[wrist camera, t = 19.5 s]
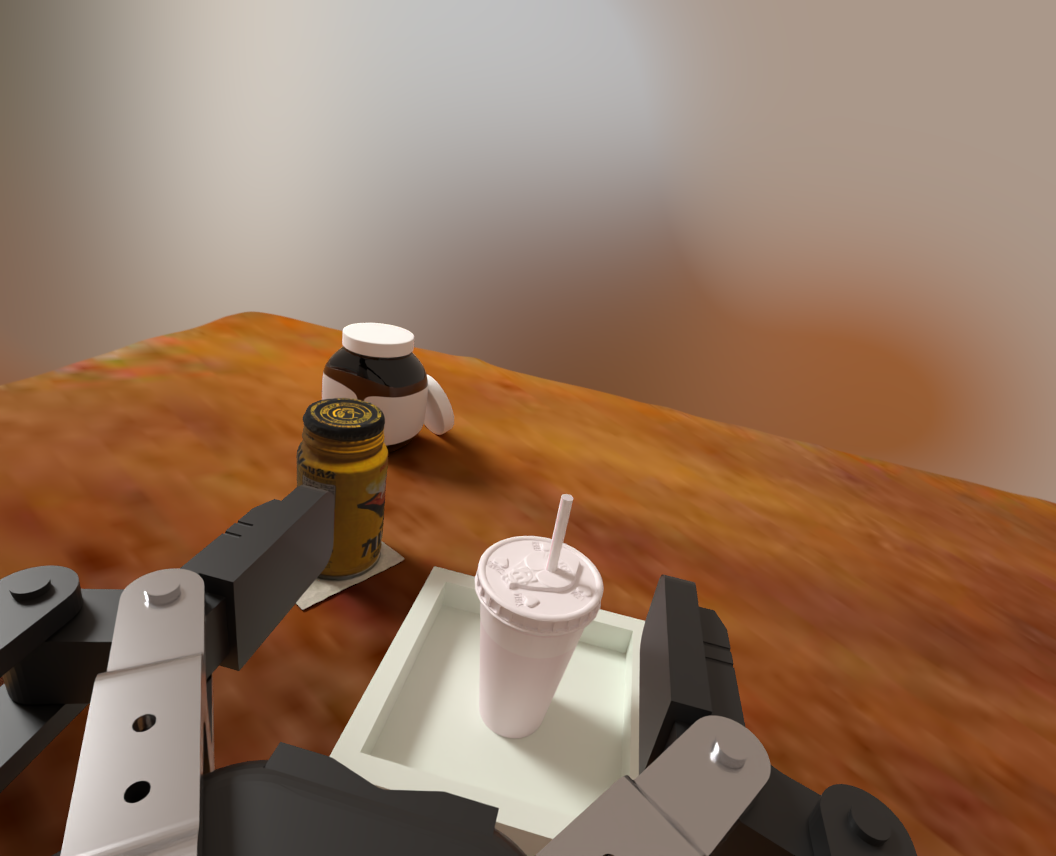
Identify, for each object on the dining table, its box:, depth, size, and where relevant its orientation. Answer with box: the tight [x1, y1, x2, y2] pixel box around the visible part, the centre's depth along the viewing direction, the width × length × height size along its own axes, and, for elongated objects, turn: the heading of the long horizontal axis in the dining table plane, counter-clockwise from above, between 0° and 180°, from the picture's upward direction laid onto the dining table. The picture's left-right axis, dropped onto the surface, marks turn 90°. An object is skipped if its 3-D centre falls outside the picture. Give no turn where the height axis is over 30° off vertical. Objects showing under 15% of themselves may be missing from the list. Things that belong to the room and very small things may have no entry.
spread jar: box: [322, 323, 454, 452], centre depth 59 cm, size 12×11×12 cm
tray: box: [329, 566, 645, 856], centre depth 32 cm, size 15×15×3 cm
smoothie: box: [475, 494, 603, 739], centre depth 29 cm, size 6×6×14 cm
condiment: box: [296, 398, 405, 610], centre depth 40 cm, size 7×8×12 cm
